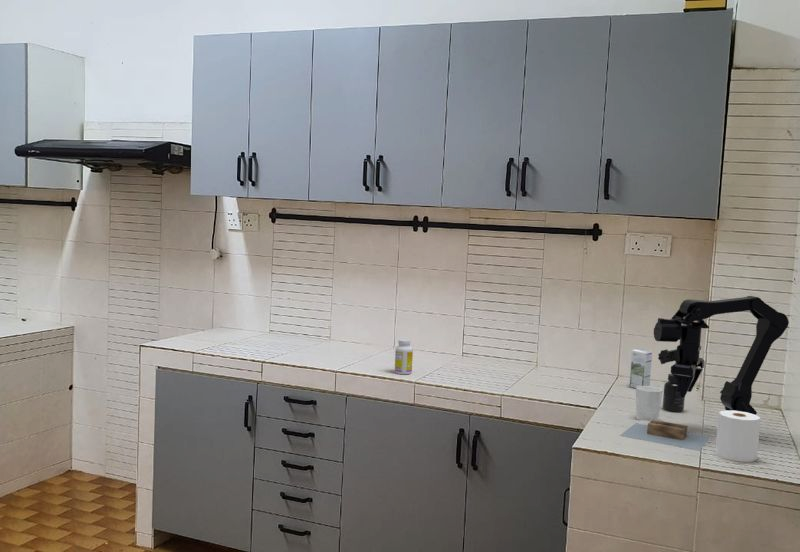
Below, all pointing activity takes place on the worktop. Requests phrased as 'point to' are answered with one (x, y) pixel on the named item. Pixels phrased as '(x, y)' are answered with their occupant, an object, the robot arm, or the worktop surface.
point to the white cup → (648, 402)
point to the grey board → (688, 442)
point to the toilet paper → (737, 435)
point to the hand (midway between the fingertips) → (685, 394)
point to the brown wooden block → (667, 429)
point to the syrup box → (640, 368)
